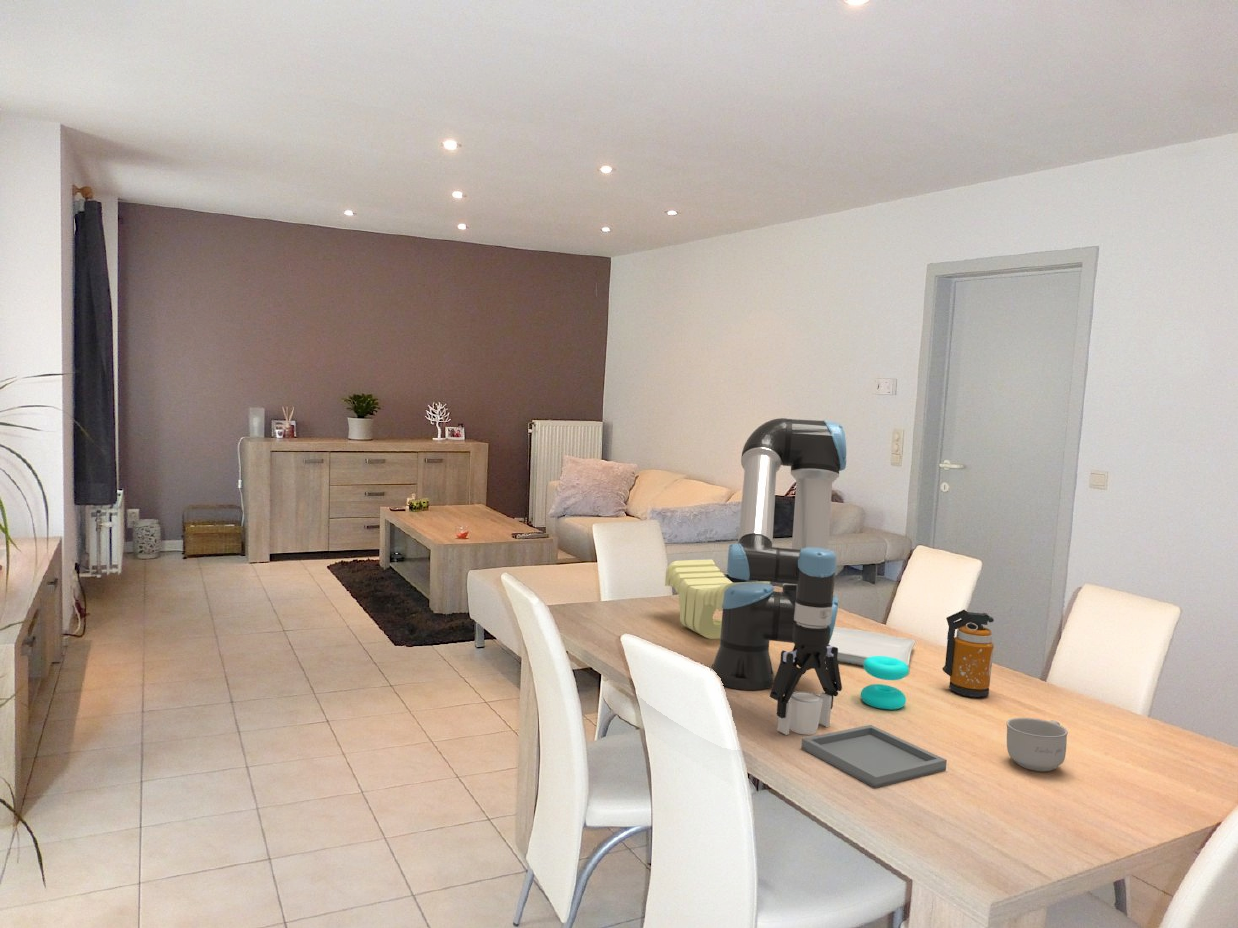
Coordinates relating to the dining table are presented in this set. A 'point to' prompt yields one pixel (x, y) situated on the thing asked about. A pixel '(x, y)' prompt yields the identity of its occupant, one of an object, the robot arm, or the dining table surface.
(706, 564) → the slatted curved stool
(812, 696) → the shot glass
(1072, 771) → the dining table surface
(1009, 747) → the teacup
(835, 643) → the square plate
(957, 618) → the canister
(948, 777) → the dining table surface
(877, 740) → the tray
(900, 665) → the donuts
